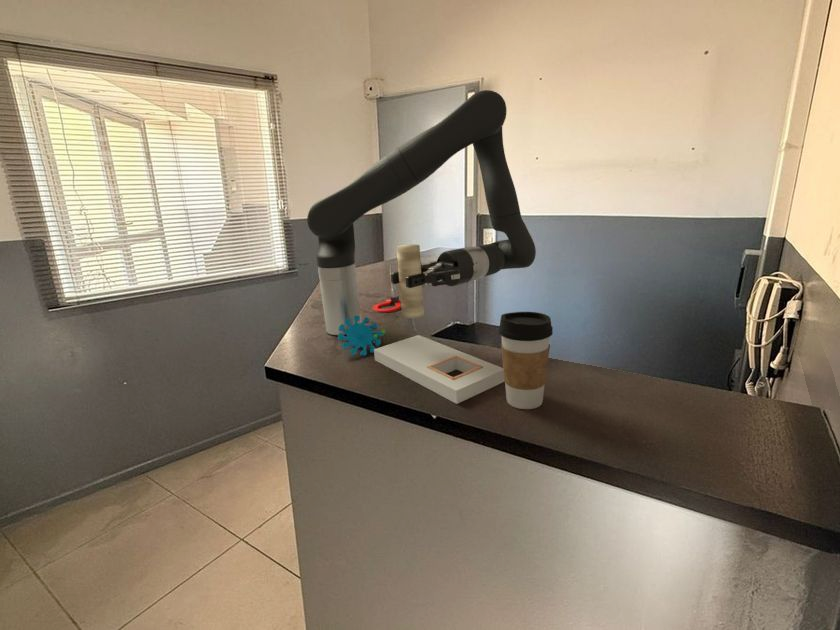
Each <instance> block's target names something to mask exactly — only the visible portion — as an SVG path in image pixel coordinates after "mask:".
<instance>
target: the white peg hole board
mask: <svg viewBox="0 0 840 630" xmlns="http://www.w3.org/2000/svg"><path fill="white" fill-rule="evenodd" d="M373 355H374V361H375V362H377V363H380V364H381V365H383V366H385V367H386V368H388V369H391V370H392V371H394V372H397V373H398V374H400V375H402V376H403V377H405V378H407V379H409V380H411V381H412V382H415V383H417V384H419V385H420V386H422V387H424V388H426V389H428V390H430V391H432V392H434V393H435V394H438V396H441V397H443V398H445V399H446V400H448V401H450V402H452V403H454V404H456V405H457V404H460V403H461V402H464V401H466V400H468V399H470V398H473V397H475V396H477V395H479V394H481V393H483V392H485V391H487V390H490V389H492V388H494V387H496V386H498V385H500V384H502V383H505V379H504V369H503V367H500V366H499V365H496V364H493V363H490V362H488V361H485V360H483V359H481V358H478V357H476V356H473V355H470V354H468V353H466V352H462V351H461V350H457V349H455V348H453V347H451V346H448V345H445V344H443V343H440V342H437V341H435V340H432V339H430V338H428V337H424V336H422V335H419V334H417V335H415V336H411V337H408V338H405V339H402V340H399V341H398V340H397V341H395V342H393V343H389V344H387V345H383V346H381V347H380V346H379V347H377V348H376V349H374V354H373ZM453 371H459V372H461V373H460V374H458V375H455V376H451V375H449V373H451V372H453Z"/></svg>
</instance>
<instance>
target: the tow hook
mask: <svg viewBox="0 0 840 630" xmlns="http://www.w3.org/2000/svg"><path fill="white" fill-rule="evenodd" d="M393 268H394V267H393V264H392V263H389V269H390V270H389V275H390V279H391V273H394V272H395V271H394V269H393ZM390 284H391V285H390V286H391V289H390V290H391V296H390V299H389V298H388V299H385V301H383V302H379V303H376V304H374V305H373V306H372V311H373V310H374V311H373V312H375V311H377V312H376V313H378V312H384V313H383V314H388V313H387V312H389V313H392V312H397V311H399V310H401V309H402V308H401V300H400V295H399V296H398V292H397V290H398V289H397V287H396V284H393V283H391V282H390ZM390 305H392V306H394V307H391V308H381V307H385V306H390ZM379 307H380V308H379Z"/></svg>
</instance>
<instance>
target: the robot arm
mask: <svg viewBox="0 0 840 630" xmlns="http://www.w3.org/2000/svg"><path fill="white" fill-rule="evenodd" d="M507 110H508V109H507V104H506V101H505V99H504V98H503V96H502V95H501V94H500V93H498V92H497V91H493V90H487V89H484V90H480V91H477V92H475V93H474V94H472V95H470V97H468V98H467V99H466V100H465V101H464V102H463V103H462V104H461V105H460V106H458V107H457V108H456V109H455V110H453V111H452V112H451V113H450V114H448V115H447V116H446V117H445V118H443V119H442V120H441V121H440V122H438V123H437V124H434V126H431V127H430V128H428V129H426V130H425V131H423V132H420V133H419V134H417V135H415V136H413V137H412V138H410V139H409V140H407V141H406V142H403V143H402V144H400V145H399V146H398V147H396V148H395V149H394V150H392V151H390V152H388V154H386V155H384V156H383V157H382V158H380V159H379V160H378V161H377V162H375V163H374V164H373V165H372V166H370V167H368V169H366V171H364V172H363V173H362V174H361V175H359V176H358V177H357V178H356V179H354V180H353V181H352V182H350V183H349V184H348V185H346V186H344V187H342V188H341V189H339V190H337V191H335V192H333V193H331V194H329V195H327V196H326V197H323V198H321V199H320V200H317V201H316V202H314V203H313V205H312V206H311V207H310V208H309V210H308V214H307V220H306V221H307V226H308V229H309V230H310V232H311V233H312V234H314V235H315V236H316V237H318V238H317V239H318V250H317V254H316V263H317V264H316V265H317V271H318V277H319V286H320V293H321V301H322V306H323V307H322V309H323V316H324V324H325V330H326V331H325V332H326V333H327V334H329V335H332V336H338V335H339V333H342V334H343V335H344V336H347V335H346V334H345V333H344V332H342V331H339V327H340V325H342V324H343V325H344V326H345V329H346V330H349V328H348V326H347V325H346V324H345V323H344V321H345V319H347V318H350V319H351V321H350V325H354V316H359V317H360V319H359V321H358V322H357V323H358V324H360V323H362V315H361V305H360V296H359V287H358V277H357V271H356V270H357V269H356V259H355V258H356V257H355V256H356V255H355V254H356V241H355V240H356V239H355V238H356V237H355V229H354V228H355V227H354V223H355V222H356V221H357V220H359V219H360V218H361V217H363V216H364V215H366V214H367V213H369V212H370V211H373V209H376V208H378V207H380V206H382V205H384V204H387V203H389V202H391V201H393V200H394V199H396V198H398V197H401V196H402V195H404V194H405V193H407V192H408V191H410V190H412V189H413V188H415V187H417V186H418V185H419V184H420V183H422V182H424V181H425V180H427V179H428V178H429V177H430V176H432V175H433V174H434V173H435V172H436V171H437V170H438V169H440V168H441V167H442V166H443V165H444V164H445V163H446V162H447V161H448V160H450V159H451V158H452V157H453V156H454V155H456V154H457V153H459V152H460V151H462V150H463V149H465V148H467V147H470V146H471V145H472V146H473V149H474V151H475V155H476V157H477V161H478V165H479V168H480V173H481V178H482V183H483V184H482V185H483V189H484V197H485V200H486V205H487V210H488V215H489V219H490V223H491V227H492V228H493V230H494V231H496V232H501V233H504V234H505V235H506V237H507V239H503V240H497V241H494V242H492V243H488V244H487V243H486V244H481V245H477V246H467V247H466V246H465V247H461V248H456V249H452V250H447V251H444V252H441V253H440V254H439V256H438V258H437V260H434V261H433V260H431V261H428V262H426V263H421V273H419V274H415V275H411V276H407V277H406V287H408V288H412V287H416V286H420V285H422V286H430V285H431V286H432V287H438V286H444V285H445V286H447V287H456V286H459V285H463V284H466V283H470V282H474V281H477V280H479V279H481V278H483V277H488V276H491V275H492V276H493V275H494V274H497V273H499V272H500V271H501V270H510V269H525V268H528V267H530V266H531V265H532V264H533V263H534V262H535V259H536V253H537V249H536V245H535V242H534V240H533V237H532V235H531V233H530V232H529V230H528V227H527V225H526V223H525V222H524V219H523V218H522V214H521V209H520V205H519V204H520V203H519V199H518V195H517V190H516V187H515V184H514V181H513V178H512V175H511V172H510V167H509V166H508V162H507V157H506V154H505V147H504V139H503V125H504V124H505V121H506V117H507V112H508V111H507ZM391 283H393V284H395V285H397V284H399V272H398V271H394V273H391V278H390V284H391Z"/></svg>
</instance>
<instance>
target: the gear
mask: <svg viewBox="0 0 840 630" xmlns="http://www.w3.org/2000/svg"><path fill="white" fill-rule="evenodd" d="M359 319H360V317H359V316H354V325H350V321H351V319H350V318H347V319H345V321H344V323H345V324H346V325H347V326H348V328H349V330H346V329H345V326H344V325H343V324H342V325H340V327H339V331H342V332H344V333H345V334H346V335H343V334H342V333H339V335H337V340H338V341H342V340H344V341H343V342H342V343H341V347H342V349H343V350H347V348H349V347H352V346H353V347H352V348H351V349H350V351H349V353H350V354H351V355H352V356H355V355H356V354H357V351H358V350H359V349H360V348H362V350H361V351H360V352H359V353H360V356H361V357H366V356H367V354H368V352H367V347H369V353H370V354H373V353H374V349H377V348H376V347H380V345H381V343H382V341H381V339H382V336H385V333H386V332H387V331H386V329H383V328H382V329H381V331H380V330H377V328H378V324H377V322H373V323H372V324H369V325H367V324H368V323H369V322H370V318H369V317H368V316H365V317H364V318H363V321H361V323H360V324H358V323H357V322H358V321H359ZM372 329H373V330H372ZM374 330H377V331H374ZM346 341H347V342H346ZM374 343H375V344H374ZM373 344H374V345H375V346H374V345H373Z"/></svg>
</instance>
